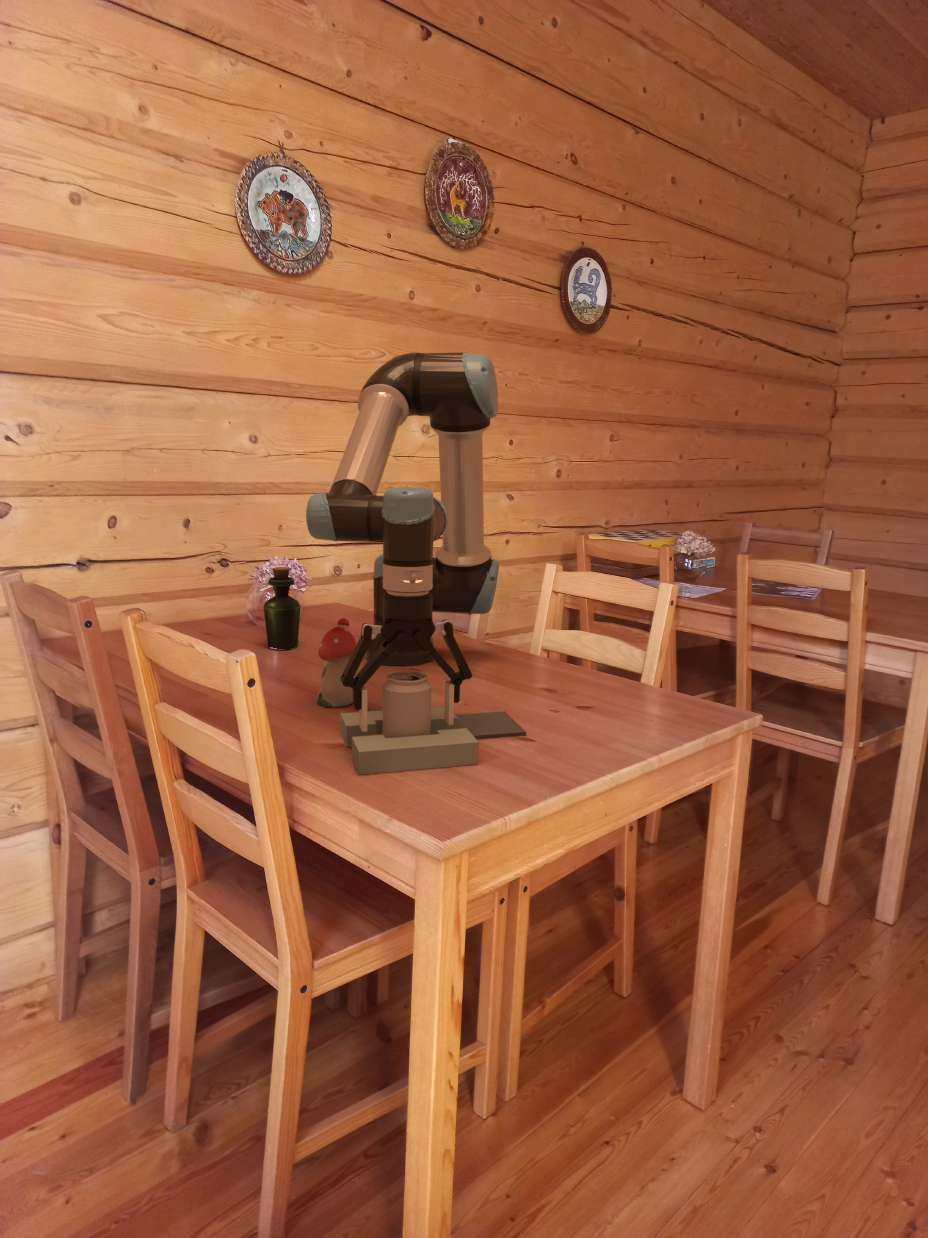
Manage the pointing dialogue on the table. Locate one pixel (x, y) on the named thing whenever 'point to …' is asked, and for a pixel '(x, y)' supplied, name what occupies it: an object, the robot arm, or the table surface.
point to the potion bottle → (282, 612)
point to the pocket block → (407, 745)
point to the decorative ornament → (336, 665)
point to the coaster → (490, 725)
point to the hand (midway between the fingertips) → (406, 725)
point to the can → (406, 705)
